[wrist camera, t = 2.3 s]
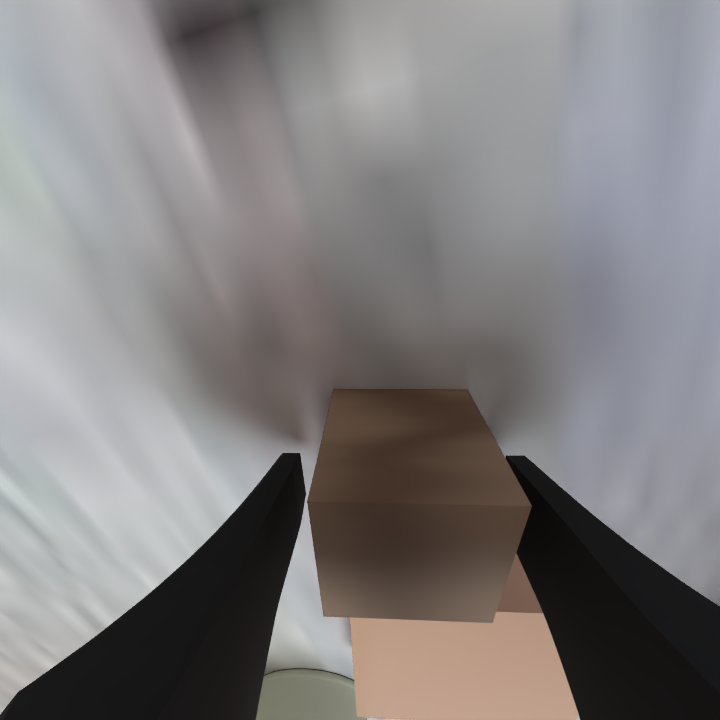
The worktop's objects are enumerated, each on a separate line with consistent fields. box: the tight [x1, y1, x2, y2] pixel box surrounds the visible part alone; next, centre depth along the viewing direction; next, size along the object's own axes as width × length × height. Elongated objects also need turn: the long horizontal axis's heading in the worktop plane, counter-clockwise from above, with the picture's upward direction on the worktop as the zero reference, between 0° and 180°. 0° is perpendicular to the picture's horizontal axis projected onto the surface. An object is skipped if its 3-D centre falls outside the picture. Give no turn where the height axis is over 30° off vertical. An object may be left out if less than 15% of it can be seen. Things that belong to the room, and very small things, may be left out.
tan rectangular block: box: [350, 553, 579, 720], centre depth 16 cm, size 12×12×3 cm
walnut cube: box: [307, 389, 532, 623], centre depth 10 cm, size 5×5×5 cm
